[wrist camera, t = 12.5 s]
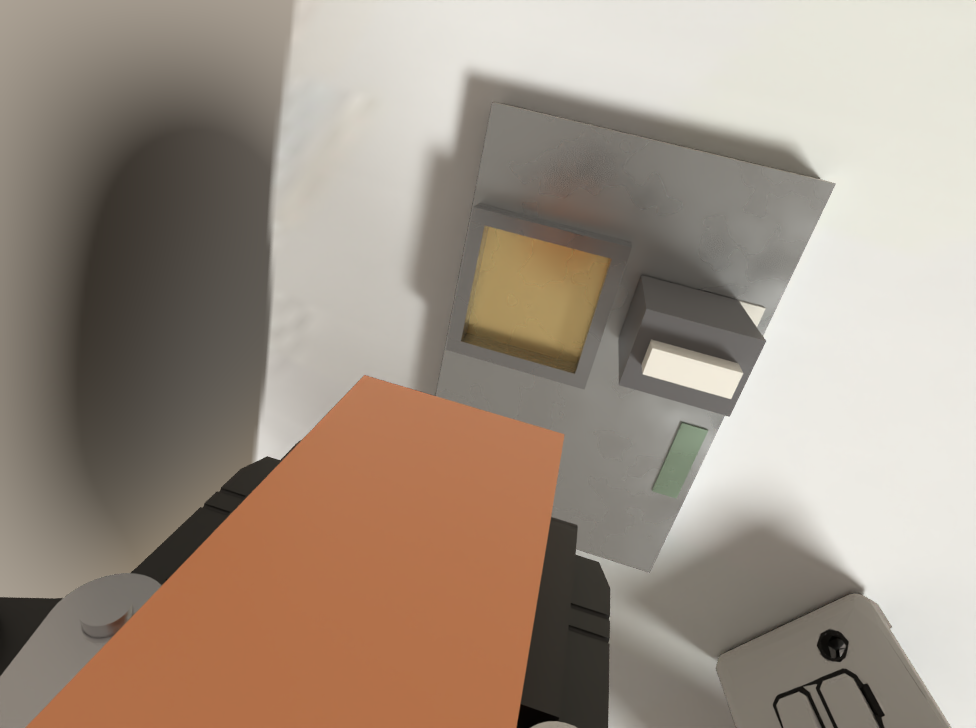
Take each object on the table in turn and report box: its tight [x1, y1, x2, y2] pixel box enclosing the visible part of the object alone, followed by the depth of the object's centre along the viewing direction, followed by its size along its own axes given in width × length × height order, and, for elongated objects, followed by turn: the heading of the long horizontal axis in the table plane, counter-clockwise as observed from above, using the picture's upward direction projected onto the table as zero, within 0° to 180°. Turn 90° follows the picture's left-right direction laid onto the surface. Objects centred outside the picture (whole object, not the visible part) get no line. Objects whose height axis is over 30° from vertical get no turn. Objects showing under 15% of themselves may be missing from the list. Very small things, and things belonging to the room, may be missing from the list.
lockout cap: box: [25, 375, 565, 728], centre depth 8 cm, size 4×4×8 cm
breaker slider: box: [618, 275, 766, 417], centre depth 20 cm, size 3×4×5 cm
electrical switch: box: [716, 594, 951, 728], centre depth 26 cm, size 9×5×9 cm, turn 139°
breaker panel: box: [436, 102, 835, 573], centre depth 25 cm, size 20×13×3 cm, turn 168°
